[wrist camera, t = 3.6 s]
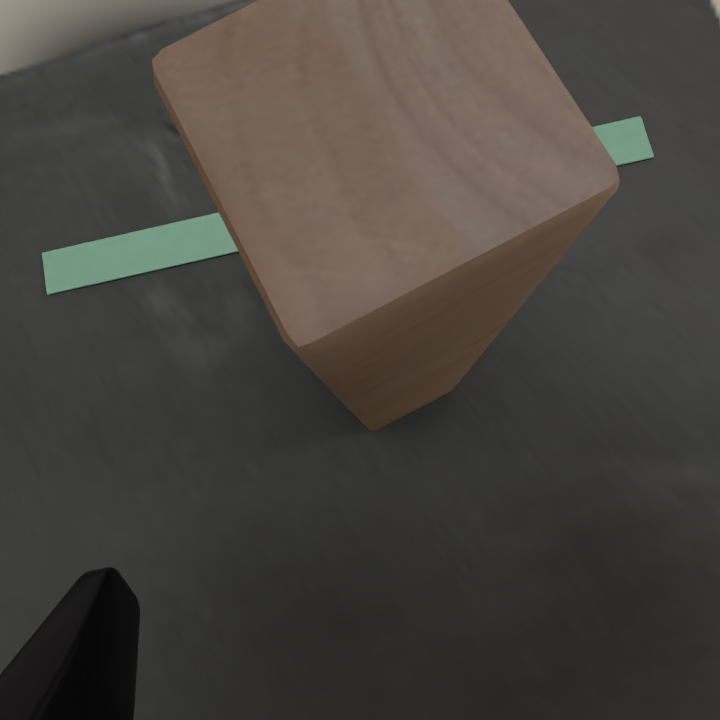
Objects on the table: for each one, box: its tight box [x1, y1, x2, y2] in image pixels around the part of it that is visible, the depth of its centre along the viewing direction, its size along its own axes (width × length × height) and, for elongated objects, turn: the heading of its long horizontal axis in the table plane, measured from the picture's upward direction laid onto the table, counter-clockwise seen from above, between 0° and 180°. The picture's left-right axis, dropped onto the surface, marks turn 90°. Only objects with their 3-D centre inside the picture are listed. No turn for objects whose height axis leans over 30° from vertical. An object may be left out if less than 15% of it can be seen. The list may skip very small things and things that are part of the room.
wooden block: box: [152, 0, 620, 431], centre depth 13 cm, size 7×3×15 cm, turn 27°
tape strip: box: [42, 116, 654, 295], centre depth 21 cm, size 22×2×1 cm, turn 102°
